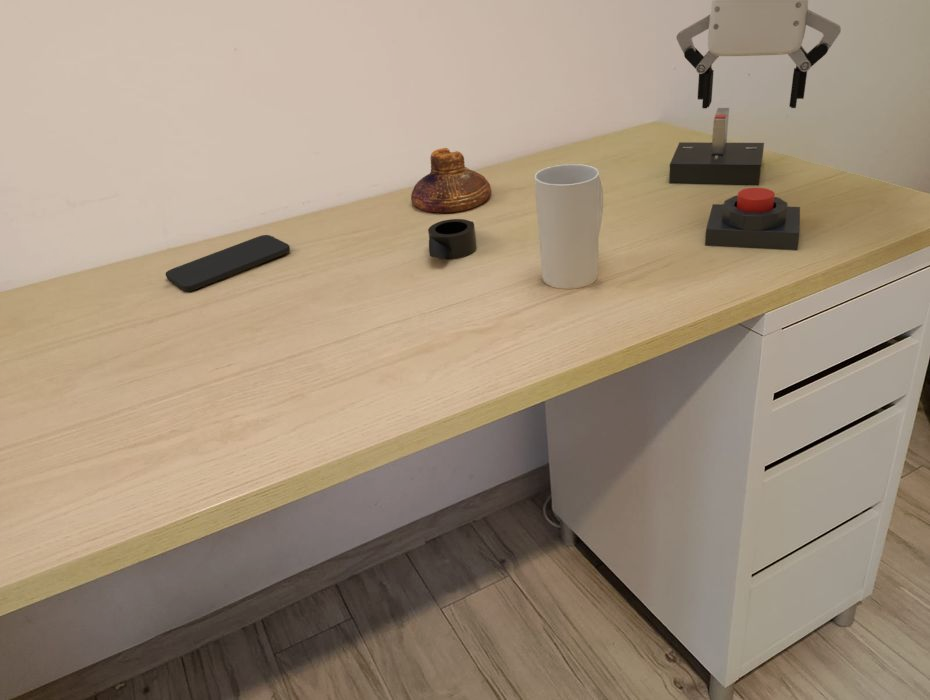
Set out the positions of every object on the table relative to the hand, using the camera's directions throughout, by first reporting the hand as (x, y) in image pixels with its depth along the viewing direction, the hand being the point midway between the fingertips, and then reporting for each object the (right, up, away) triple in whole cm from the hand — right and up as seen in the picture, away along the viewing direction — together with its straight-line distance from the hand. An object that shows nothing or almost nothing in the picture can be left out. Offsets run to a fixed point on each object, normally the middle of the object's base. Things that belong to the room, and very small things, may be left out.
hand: (749, 105), depth 88 cm
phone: (-64, -18, +9) cm, 67 cm away
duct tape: (-35, -16, +6) cm, 39 cm away
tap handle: (+3, 0, +20) cm, 20 cm away
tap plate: (+3, -3, +21) cm, 21 cm away
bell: (-36, -7, +22) cm, 42 cm away
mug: (-21, -20, -3) cm, 29 cm away
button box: (+1, -15, +1) cm, 15 cm away
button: (0, -12, -2) cm, 13 cm away
